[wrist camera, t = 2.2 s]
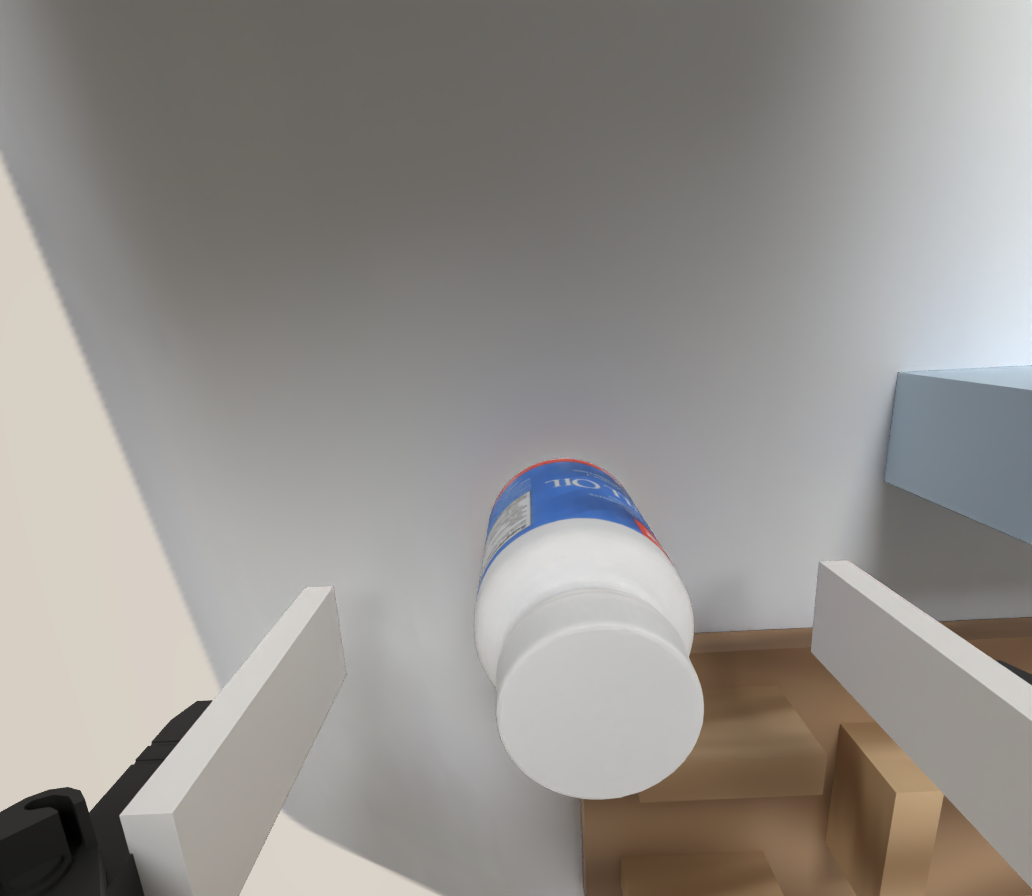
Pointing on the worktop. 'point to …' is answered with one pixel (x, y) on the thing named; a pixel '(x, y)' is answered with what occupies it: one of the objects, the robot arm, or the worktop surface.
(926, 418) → the block
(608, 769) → the pill bottle
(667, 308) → the worktop surface
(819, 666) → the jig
